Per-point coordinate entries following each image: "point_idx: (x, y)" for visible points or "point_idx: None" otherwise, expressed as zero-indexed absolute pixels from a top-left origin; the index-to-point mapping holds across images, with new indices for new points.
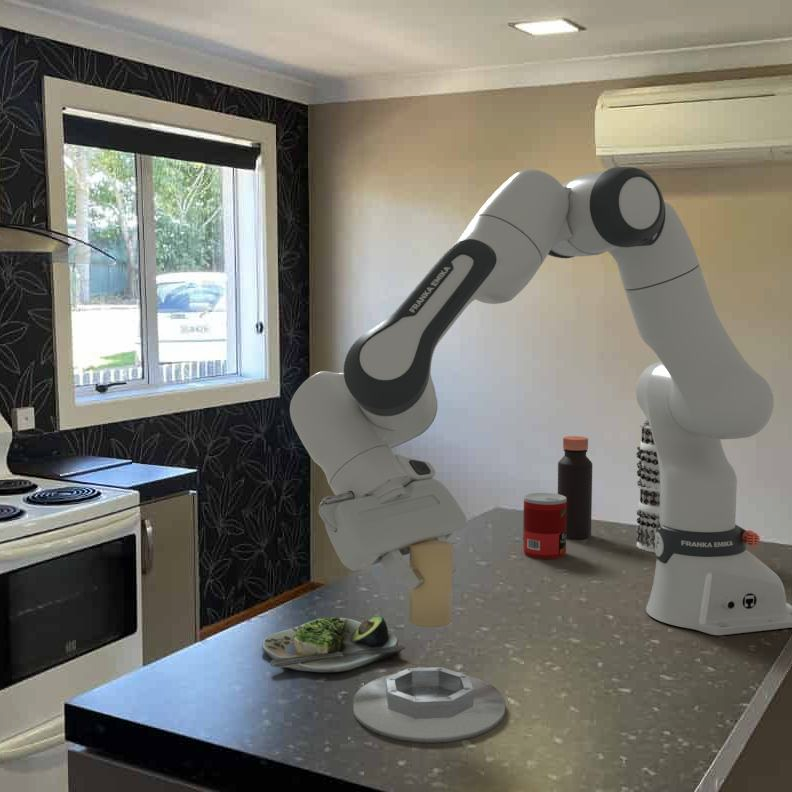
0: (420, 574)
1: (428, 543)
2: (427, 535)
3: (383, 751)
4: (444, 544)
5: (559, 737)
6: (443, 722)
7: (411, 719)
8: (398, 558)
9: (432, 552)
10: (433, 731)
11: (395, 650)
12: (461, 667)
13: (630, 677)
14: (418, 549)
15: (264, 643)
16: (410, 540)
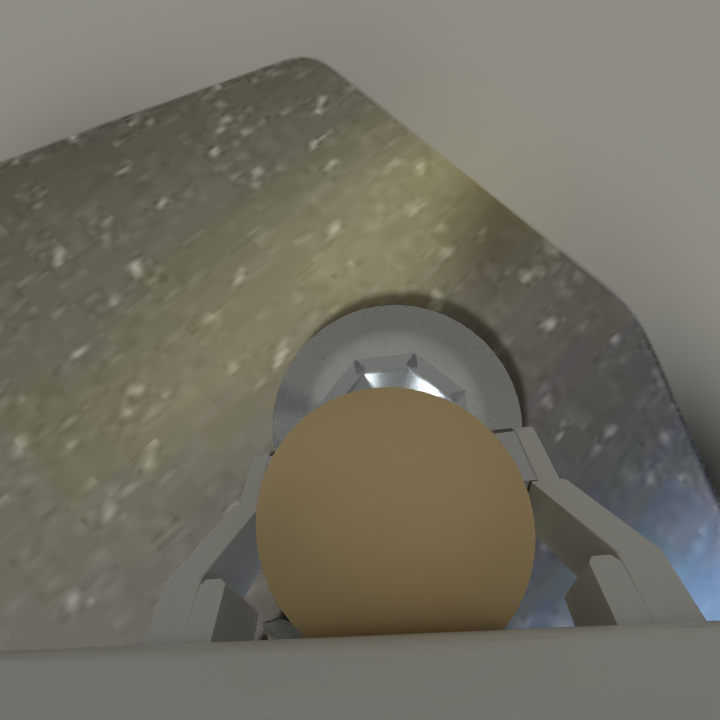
0: None
1: (368, 573)
2: (315, 656)
3: (547, 366)
4: (310, 481)
5: (327, 231)
6: (435, 351)
7: (466, 393)
8: (635, 555)
9: (478, 421)
10: (469, 340)
11: (290, 624)
12: (237, 502)
13: (93, 289)
14: (527, 513)
15: None
16: (519, 647)
